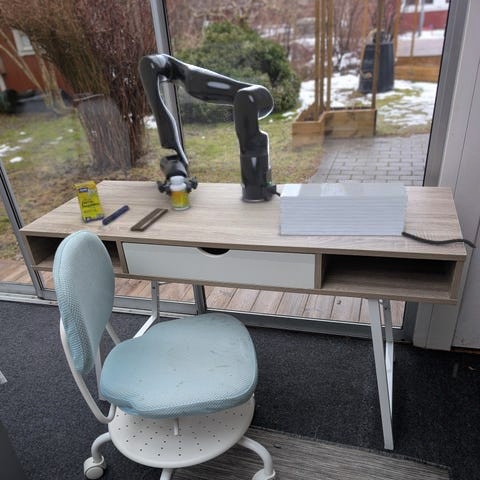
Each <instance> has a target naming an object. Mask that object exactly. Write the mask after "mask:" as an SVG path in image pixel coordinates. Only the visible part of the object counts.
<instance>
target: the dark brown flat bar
mask: <svg viewBox="0 0 480 480" xmlns="http://www.w3.org/2000/svg"><path fill="white" fill-rule="evenodd" d="M168 212H169V209H168V208H165V207H164V208H163V207H162V208H160V207H156V208H155V209H154V210H152V211H151V212H150V213H148V214H147V215H146V216H145V217H143V218H142V219H140V220H139V221H137V222H136V223H134V224H133V225H132V226H131V227H130V231H131V232H142V233H143V232H145V230H146V229H148V228H149V227H150V226H151V225H153V224H154V223H156V221H158V220H159V219H160V218H162V217H163V216H164V215H165V214H166V213H168Z"/></svg>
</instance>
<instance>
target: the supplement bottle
mask: <svg viewBox="0 0 480 480" xmlns="http://www.w3.org/2000/svg"><path fill="white" fill-rule="evenodd" d="M183 182H184V180H183V177H182V176H174V177H172V178H171V183H172V185H170V193H171V196H170V200H171V206H172V209H173V210H175V211H183V210H187V209H188V208H190V202H189V200H190V199H189V194H188V193H187V186H186V184H185V183H183Z"/></svg>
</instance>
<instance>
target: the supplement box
mask: <svg viewBox="0 0 480 480" xmlns="http://www.w3.org/2000/svg"><path fill="white" fill-rule="evenodd" d="M73 186H74V190H75V194H76V197H77V201H78V205H79V210H80V214H81V217H82V219H83V221H84V222H85V223H89V222H94V221H98V220H104V219H105V217H104V214H103V213H104V212H103V209H102V204H101V200H100V196H99V192H98V187H97V184H96V183H95V182H94V180H89V181H83V182H79V183H74V184H73Z"/></svg>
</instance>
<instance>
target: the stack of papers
mask: <svg viewBox="0 0 480 480" xmlns="http://www.w3.org/2000/svg"><path fill="white" fill-rule="evenodd" d="M280 194H281V195H280V197H279V218H280V220H279V221H280V223H279V224H280V235H281V236H396V237H397V236H403V237H404V235H402V234H401V233H402V232H405V231H404V228H405V221H406V214H407V206H408V198H409V195H408V192H407V188H406V186H405V183H404V182H403V181H401V182H399V181H398V182H394V181H393V182H336V183H335V182H333V183H332V182H327V183H326V182H323V183H322V182H319V183H316V182H315V183H314V182H313V183H283V185H282V189H281V191H280Z"/></svg>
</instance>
